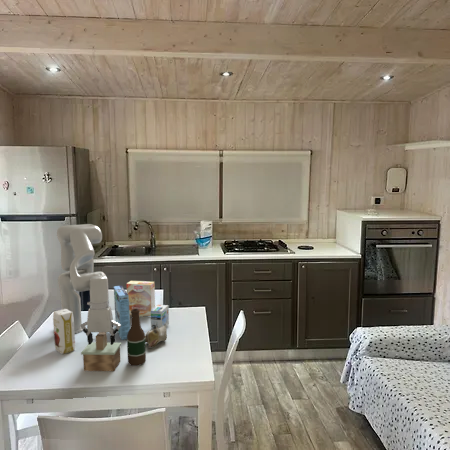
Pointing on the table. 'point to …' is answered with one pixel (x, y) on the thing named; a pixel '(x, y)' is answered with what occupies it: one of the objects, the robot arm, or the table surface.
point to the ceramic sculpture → (156, 336)
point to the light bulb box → (159, 316)
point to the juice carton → (64, 331)
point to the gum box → (122, 311)
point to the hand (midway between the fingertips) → (101, 343)
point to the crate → (101, 362)
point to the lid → (101, 346)
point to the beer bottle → (136, 341)
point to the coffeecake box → (141, 296)
